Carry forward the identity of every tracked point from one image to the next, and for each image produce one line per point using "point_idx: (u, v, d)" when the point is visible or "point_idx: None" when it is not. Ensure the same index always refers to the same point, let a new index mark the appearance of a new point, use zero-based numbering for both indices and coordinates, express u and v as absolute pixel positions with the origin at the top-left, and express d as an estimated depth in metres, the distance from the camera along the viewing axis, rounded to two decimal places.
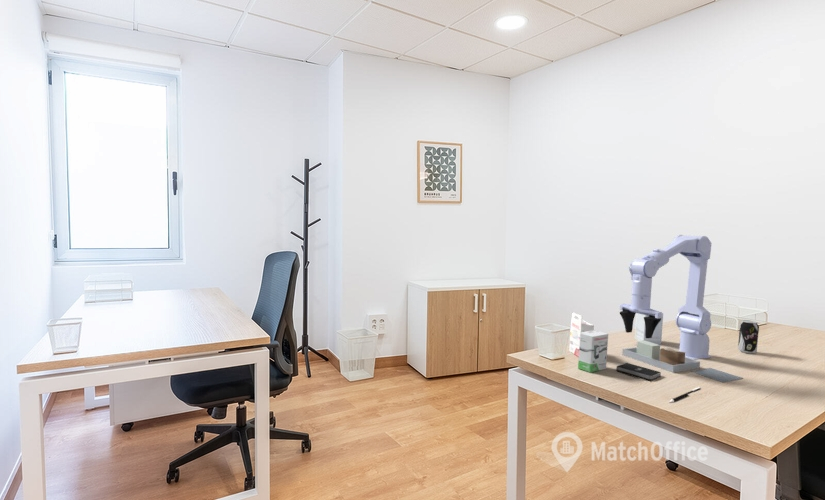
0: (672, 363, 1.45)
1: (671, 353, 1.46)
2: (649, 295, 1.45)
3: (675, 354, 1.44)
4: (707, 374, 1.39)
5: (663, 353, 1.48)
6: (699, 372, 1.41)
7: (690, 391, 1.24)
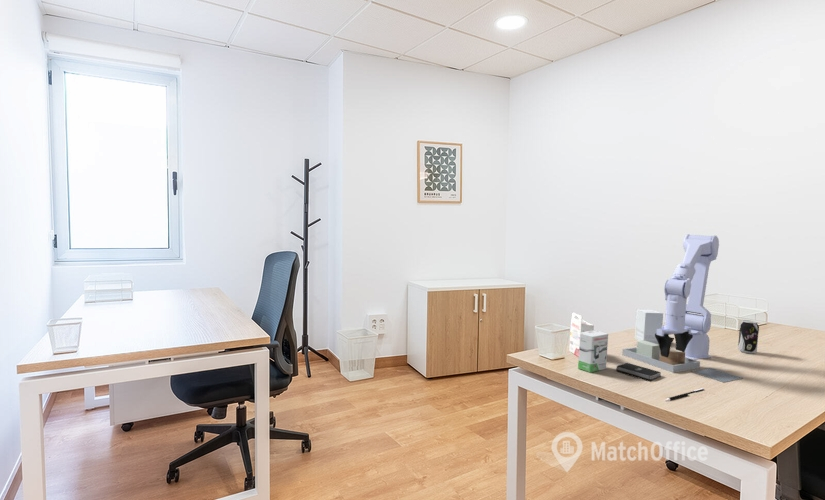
0: (672, 363, 1.45)
1: (671, 353, 1.46)
2: (685, 315, 1.45)
3: (675, 354, 1.44)
4: (707, 374, 1.39)
5: None
6: (699, 372, 1.41)
7: None
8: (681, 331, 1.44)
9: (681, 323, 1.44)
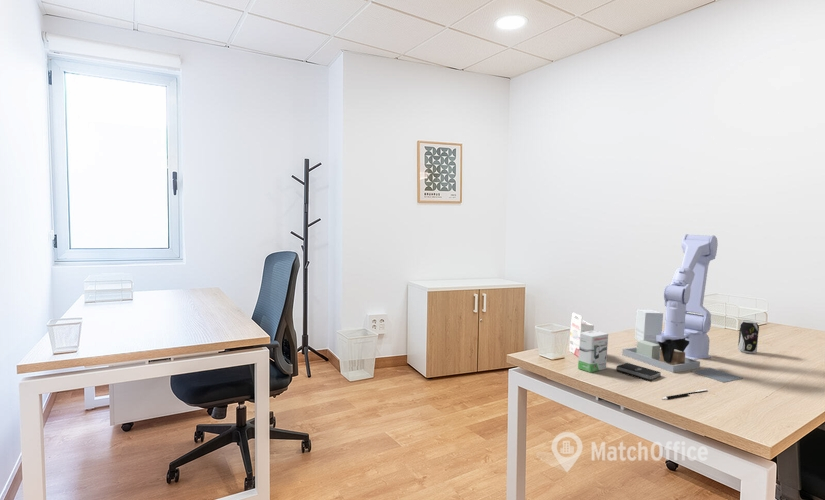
0: (672, 363, 1.45)
1: None
2: (684, 321, 1.45)
3: (675, 354, 1.44)
4: (707, 374, 1.39)
5: None
6: (699, 372, 1.41)
7: (693, 392, 1.24)
8: (681, 337, 1.44)
9: (681, 329, 1.44)
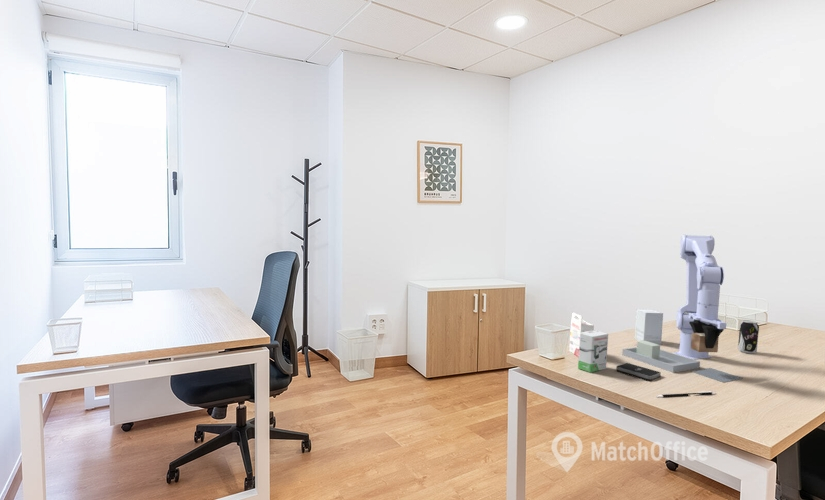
0: (713, 348, 1.39)
1: None
2: None
3: None
4: (707, 374, 1.39)
5: (703, 340, 1.39)
6: (699, 372, 1.41)
7: (694, 393, 1.23)
8: None
9: None
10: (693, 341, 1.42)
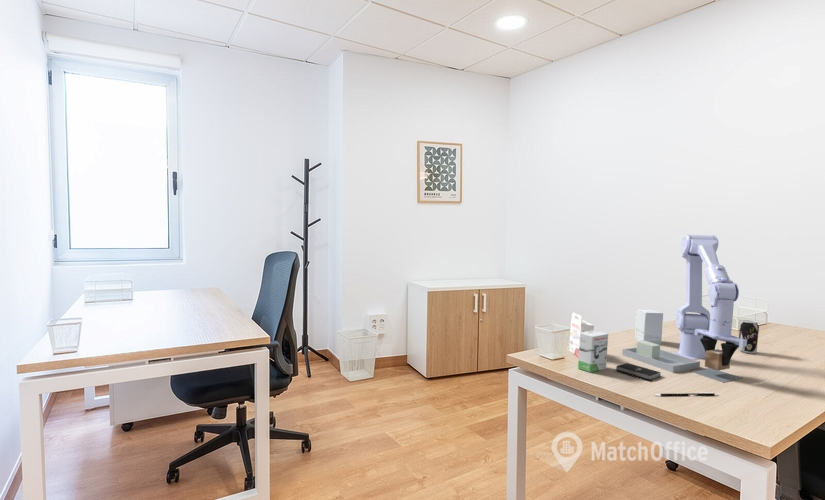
0: (727, 365, 1.38)
1: None
2: None
3: None
4: (707, 374, 1.39)
5: (720, 358, 1.36)
6: (699, 372, 1.41)
7: (695, 393, 1.23)
8: None
9: None
10: (708, 359, 1.38)
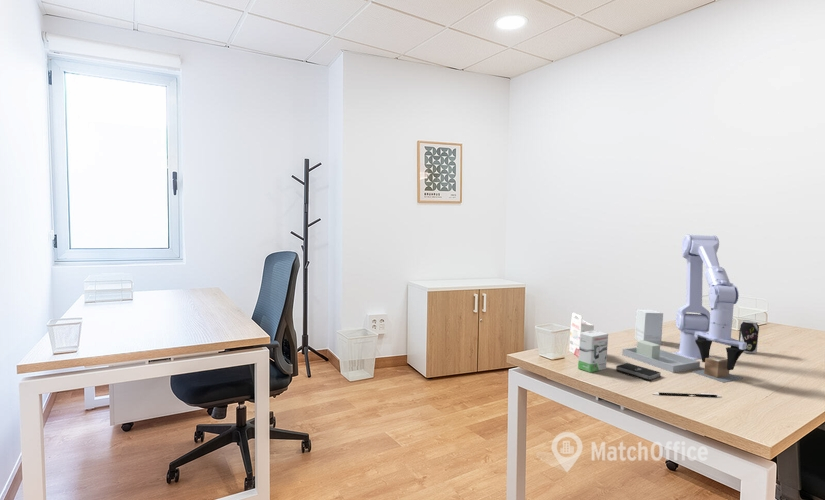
0: (726, 372, 1.38)
1: (726, 362, 1.38)
2: None
3: None
4: None
5: (720, 366, 1.36)
6: (699, 372, 1.41)
7: (696, 394, 1.23)
8: None
9: None
10: (708, 366, 1.39)
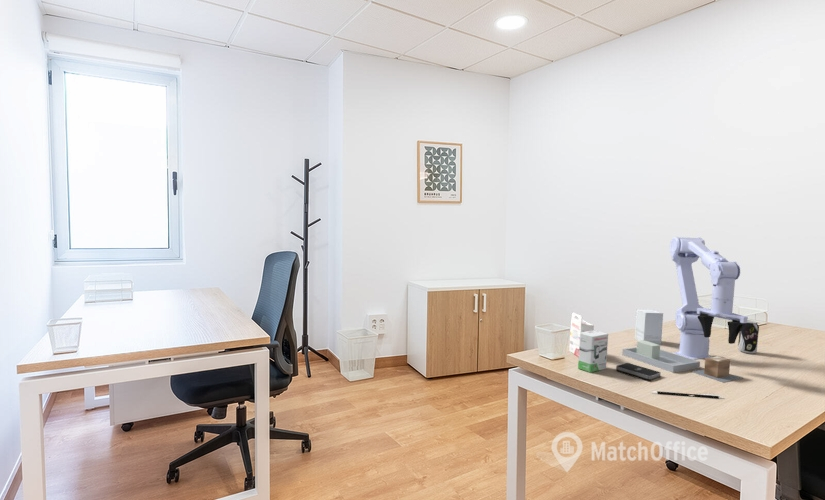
0: (726, 372, 1.38)
1: (726, 362, 1.38)
2: None
3: (728, 361, 1.38)
4: None
5: (720, 366, 1.36)
6: (699, 372, 1.41)
7: (697, 394, 1.22)
8: None
9: None
10: (708, 366, 1.39)
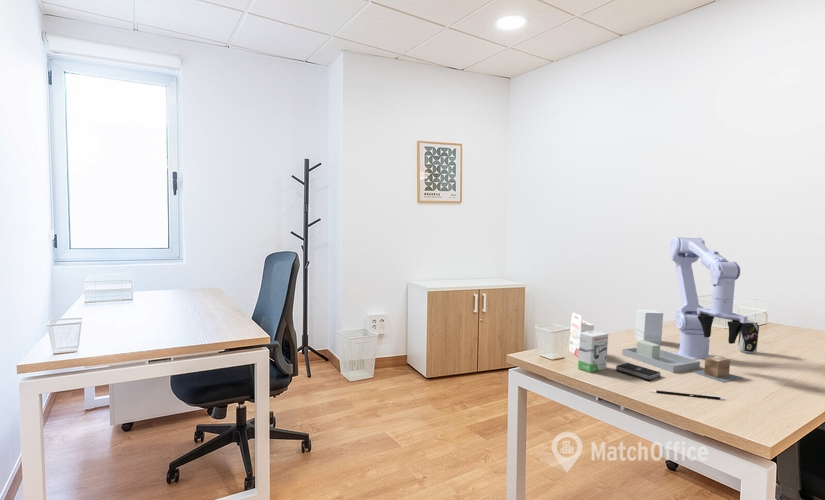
0: (726, 372, 1.38)
1: (726, 362, 1.38)
2: None
3: (728, 361, 1.38)
4: None
5: (720, 366, 1.36)
6: (699, 372, 1.41)
7: None
8: None
9: None
10: (708, 366, 1.39)
